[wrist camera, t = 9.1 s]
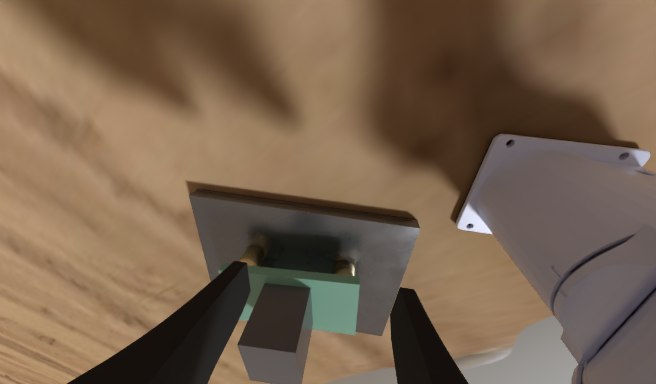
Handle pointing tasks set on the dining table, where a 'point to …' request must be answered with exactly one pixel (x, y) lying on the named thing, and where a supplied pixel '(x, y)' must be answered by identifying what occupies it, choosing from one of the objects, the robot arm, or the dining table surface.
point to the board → (324, 295)
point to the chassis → (309, 244)
